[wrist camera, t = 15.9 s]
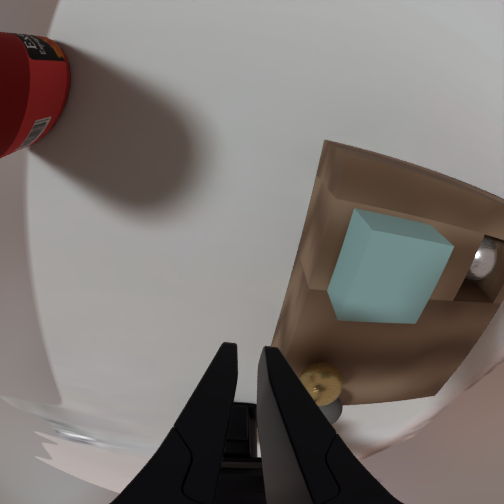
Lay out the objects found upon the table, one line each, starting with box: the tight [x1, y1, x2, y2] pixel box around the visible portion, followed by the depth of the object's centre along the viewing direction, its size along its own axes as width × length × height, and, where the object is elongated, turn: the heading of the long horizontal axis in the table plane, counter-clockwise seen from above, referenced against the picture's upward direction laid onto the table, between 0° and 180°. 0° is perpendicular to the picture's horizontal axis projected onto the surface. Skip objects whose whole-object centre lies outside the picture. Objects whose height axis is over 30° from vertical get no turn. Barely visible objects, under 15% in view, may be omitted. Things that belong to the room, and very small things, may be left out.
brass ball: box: [298, 362, 343, 406], centre depth 19 cm, size 3×3×3 cm
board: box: [271, 140, 504, 405], centre depth 21 cm, size 20×18×4 cm
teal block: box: [327, 208, 454, 324], centre depth 15 cm, size 5×5×2 cm
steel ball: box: [465, 235, 497, 280], centre depth 19 cm, size 4×4×4 cm
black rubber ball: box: [318, 397, 342, 424], centre depth 21 cm, size 3×3×3 cm
